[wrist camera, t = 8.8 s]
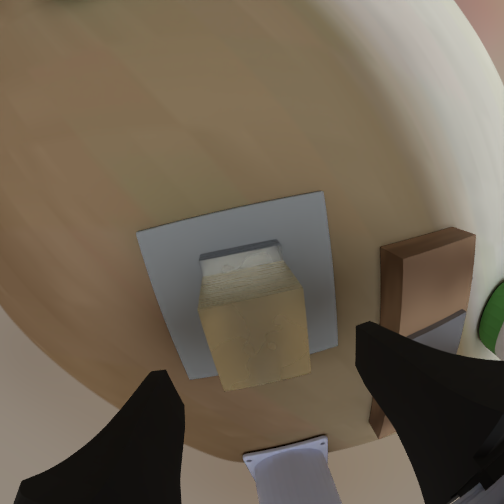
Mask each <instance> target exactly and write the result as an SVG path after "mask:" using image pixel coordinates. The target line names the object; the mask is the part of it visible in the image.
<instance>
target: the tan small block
mask: <svg viewBox="0 0 504 504" xmlns="http://www.w3.org/2000/svg"><path fill="white" fill-rule="evenodd" d="M199 265H200V269H201V273H202V283H201V289H200V296H199V303H198V309H197V310H198V314H199V317H200V320H201V323H202V327H203V330H204V333H205V336H206V339H207V343H208V346H209V349H210V352H211V355H212V358H213V361H214V364H215V367H216V369H217V372H218V375H219V378H220V381H221V384H222V386H223V389H224V392H225V391H231V390H237V389H243V388H248V387H253V386H258V385H263V384H268V383H272V382H277V381H281V380H285V379H290V378H294V377H298V376H301V375H305V374H309V373H311V366H310V353H309V341H308V329H307V319H306V309H305V299H304V290H303V287H302V285H301V284H300V283H299V281H298V280H297V278H296V277H295V276H294V274H293V273H292V271H291V270H290V269H289V267H288V266H287V264H286V263H285V262H284V260H283V254H282V247H281V244H280V243H279V242H278V240H277V239H273V240H268V241H263V242H258V243H253V244H248V245H243V246H238V247H233V248H228V249H223V250H218V251H213V252H209V253H204V254H200V257H199Z"/></svg>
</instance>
